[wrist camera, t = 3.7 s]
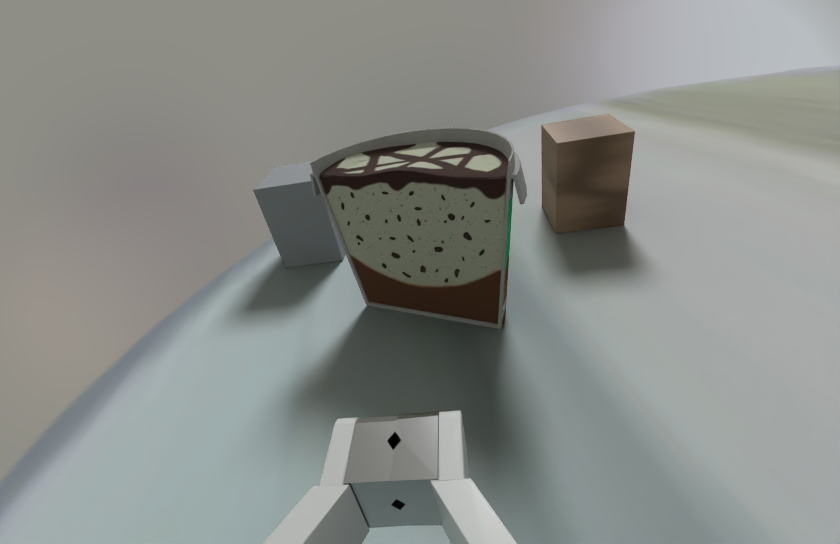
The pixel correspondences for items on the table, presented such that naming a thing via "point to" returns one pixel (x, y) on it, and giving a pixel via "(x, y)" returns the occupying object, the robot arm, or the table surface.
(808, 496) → the table surface
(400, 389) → the table surface
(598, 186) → the walnut block
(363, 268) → the food container
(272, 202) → the slate block
